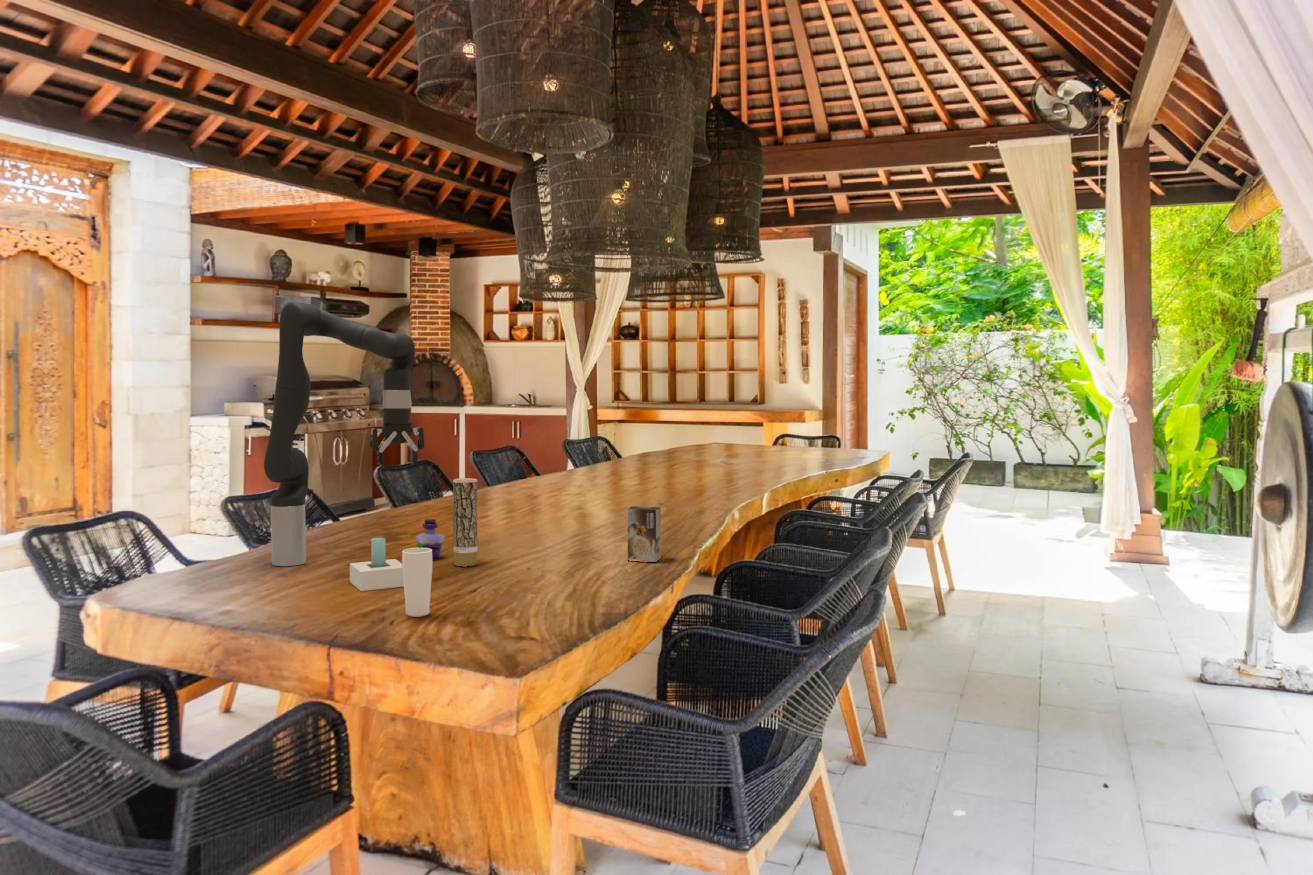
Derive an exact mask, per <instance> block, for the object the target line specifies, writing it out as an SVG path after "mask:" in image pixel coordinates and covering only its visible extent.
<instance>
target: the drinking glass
mask: <svg viewBox="0 0 1313 875" xmlns="http://www.w3.org/2000/svg"><path fill="white" fill-rule="evenodd" d="M401 553H402V554H401V563H402V573H403V583H404V587H403V593H404V600H405V601H404V604H405V615H406V616H408V617H414V618H420V617H425V616H428V615H429V614H430V611H431V610H430V606H431V604H430V603H431V589H432V578H433V560H432V549H429V548H418V547H410V548H404V549H403V550H402V552H401Z"/></svg>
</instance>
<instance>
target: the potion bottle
mask: <svg viewBox="0 0 1313 875" xmlns="http://www.w3.org/2000/svg"><path fill="white" fill-rule="evenodd" d="M422 528H423V529H424V530H425V532H423V533H419V534H417V535H416V536H415V539H416V544H417V546H416V548H429V549H432V561H434V560H433V559H437V560H439V559H440V558H441V552H442V549H443V548H442V546H443V545H444V540H445V537H446V536H445V534H443V533H438V532H436V529H438V528H439V524H438V522H437V520H436V519H435V518H425V519H424V522H423V523H422ZM438 558H439V559H438Z"/></svg>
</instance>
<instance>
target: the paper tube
mask: <svg viewBox="0 0 1313 875" xmlns="http://www.w3.org/2000/svg"><path fill="white" fill-rule="evenodd" d="M452 485H453V486H452V488H453V489H452V490H453V492H452V495H453V497H452V501H453V502H452V504H453V506H452V509H453V511H452V512H453V514H452V515H453V517H452V518H453V526H452V527H453V531H452V532H453V533H452V534H453V537H452V538H453V564H454V566H456V567H459V566H462V567H461V568H467V566H470V567H474V566H476V565H477V564H478V479H477V478H469V477H464V478H463V477H462V478H454V479H453V480H452Z"/></svg>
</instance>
